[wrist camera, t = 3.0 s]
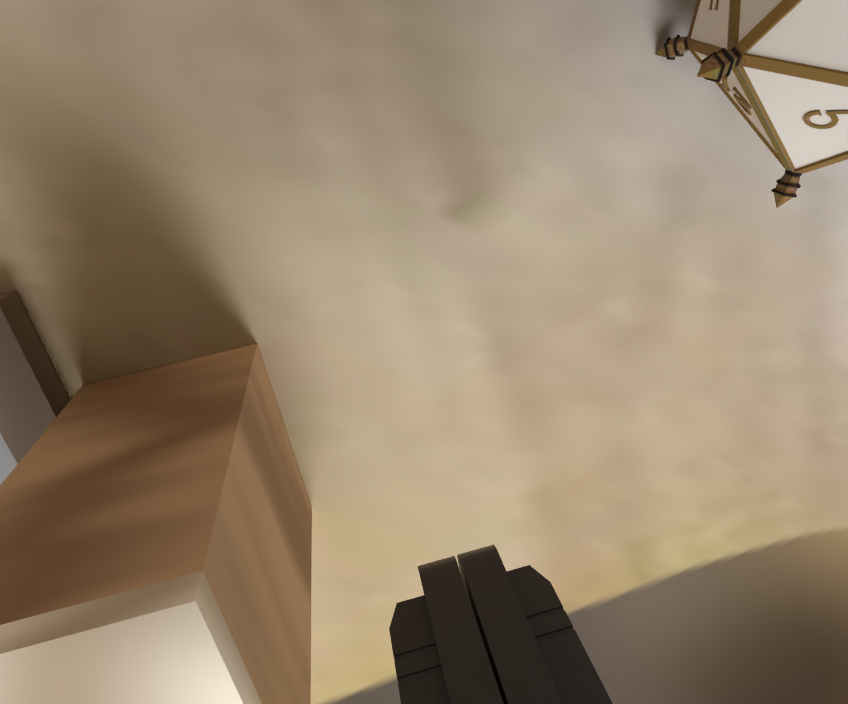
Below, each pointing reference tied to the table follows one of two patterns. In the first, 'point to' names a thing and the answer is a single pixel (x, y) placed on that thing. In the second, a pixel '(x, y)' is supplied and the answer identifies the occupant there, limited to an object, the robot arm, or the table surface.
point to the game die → (778, 75)
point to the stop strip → (25, 380)
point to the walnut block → (159, 545)
